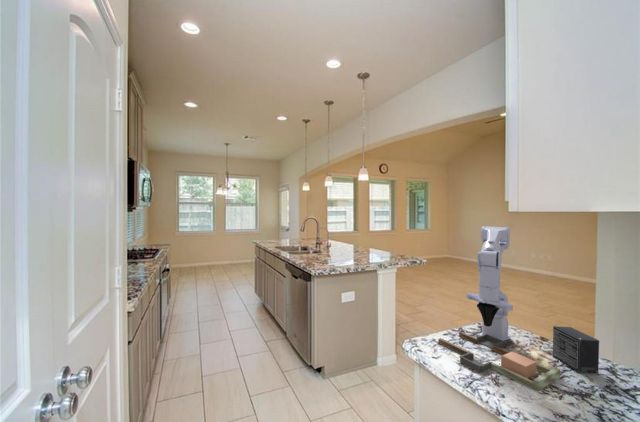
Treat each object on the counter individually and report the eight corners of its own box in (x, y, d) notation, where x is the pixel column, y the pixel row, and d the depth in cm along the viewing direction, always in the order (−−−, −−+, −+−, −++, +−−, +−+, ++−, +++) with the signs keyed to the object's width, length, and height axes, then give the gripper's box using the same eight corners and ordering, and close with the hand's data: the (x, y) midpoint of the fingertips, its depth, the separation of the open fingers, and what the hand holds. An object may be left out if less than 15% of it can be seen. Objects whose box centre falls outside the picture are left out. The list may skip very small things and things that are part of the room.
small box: (600, 374, 87) (601, 340, 87) (579, 373, 87) (579, 339, 87) (570, 356, 97) (571, 326, 97) (551, 356, 98) (552, 325, 97)
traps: (485, 339, 110) (485, 333, 110) (523, 354, 98) (523, 348, 98) (443, 354, 98) (443, 348, 98) (480, 373, 86) (480, 366, 86)
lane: (461, 335, 113) (461, 329, 113) (560, 377, 85) (560, 369, 85) (438, 342, 106) (438, 336, 106) (537, 391, 78) (537, 382, 78)
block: (512, 363, 93) (512, 351, 93) (536, 375, 86) (536, 361, 86) (501, 368, 90) (501, 355, 90) (525, 380, 84) (525, 366, 84)
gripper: (461, 282, 101) (461, 320, 102) (504, 293, 89) (503, 336, 89) (473, 280, 105) (472, 316, 105) (516, 290, 92) (515, 331, 92)
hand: (487, 325), depth 97 cm, fingers closed
